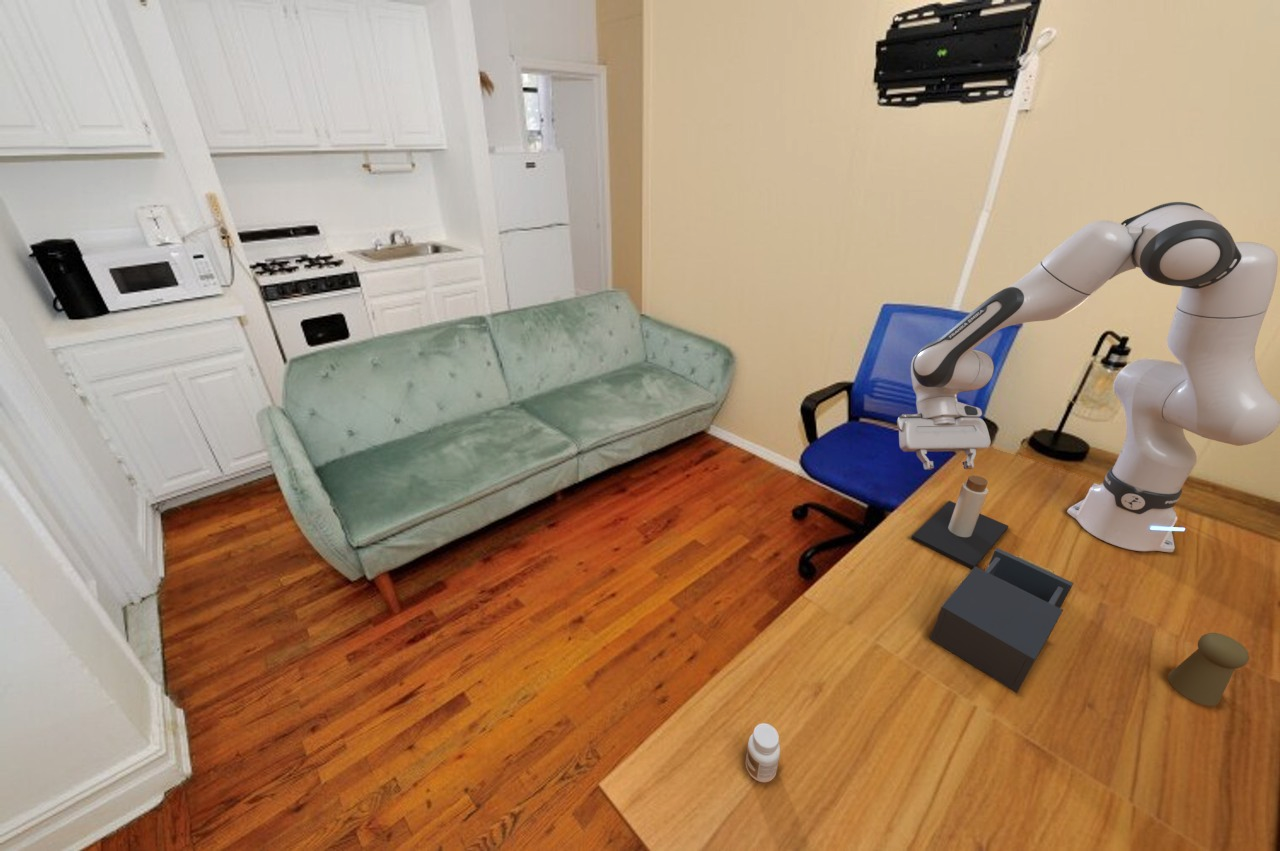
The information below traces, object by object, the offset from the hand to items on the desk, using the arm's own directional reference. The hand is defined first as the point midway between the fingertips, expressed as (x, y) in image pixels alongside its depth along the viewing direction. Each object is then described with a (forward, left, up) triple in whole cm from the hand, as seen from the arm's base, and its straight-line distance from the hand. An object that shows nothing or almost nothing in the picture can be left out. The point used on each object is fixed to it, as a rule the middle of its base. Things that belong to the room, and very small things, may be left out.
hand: (949, 468), depth 119 cm
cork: (+18, +48, -12) cm, 52 cm away
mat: (+6, +8, -11) cm, 15 cm away
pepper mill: (+6, +8, -10) cm, 14 cm away
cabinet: (+33, +23, -11) cm, 42 cm away
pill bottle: (+81, +10, -12) cm, 83 cm away
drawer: (+20, +23, -10) cm, 32 cm away
